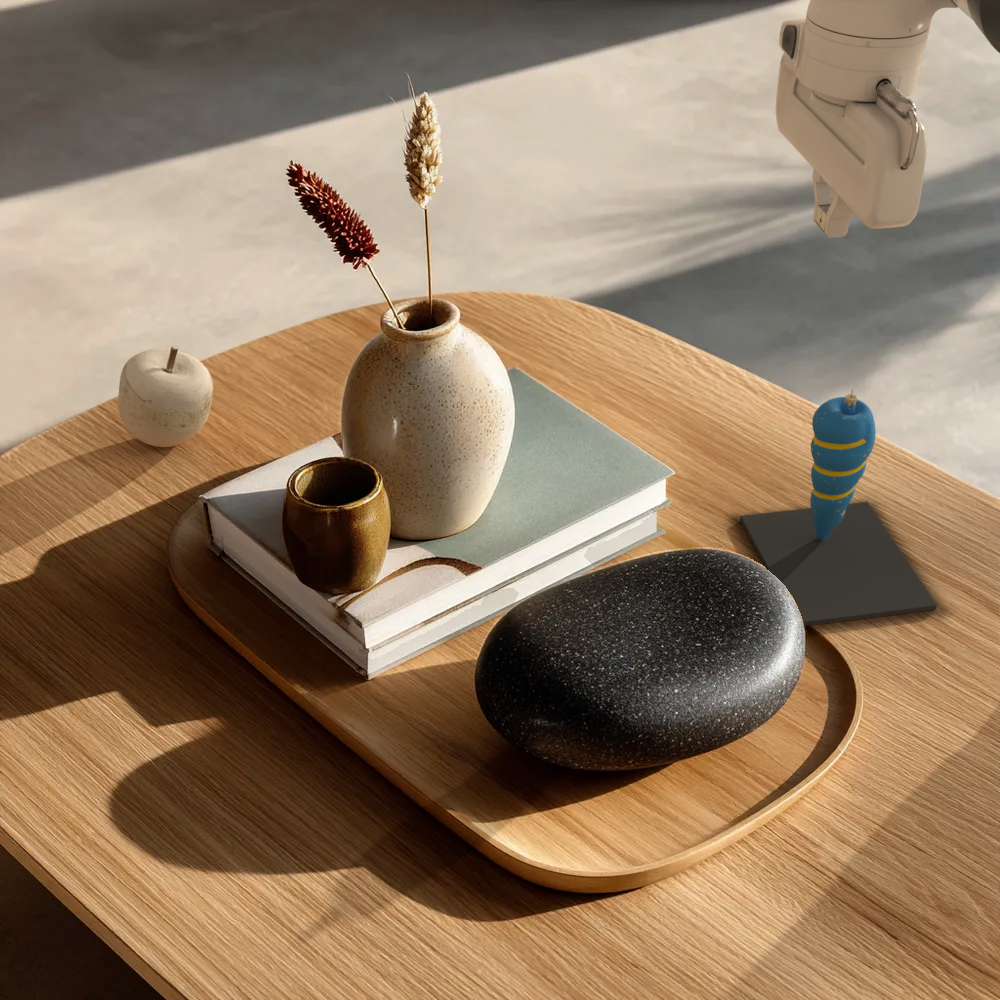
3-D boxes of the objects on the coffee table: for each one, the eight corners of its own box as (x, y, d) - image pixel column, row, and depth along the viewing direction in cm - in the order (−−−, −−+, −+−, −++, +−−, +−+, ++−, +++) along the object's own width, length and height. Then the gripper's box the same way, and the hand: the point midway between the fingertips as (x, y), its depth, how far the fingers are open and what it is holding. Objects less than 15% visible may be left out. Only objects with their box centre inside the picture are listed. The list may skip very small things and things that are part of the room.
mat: (866, 505, 120) (867, 501, 119) (936, 609, 109) (937, 605, 108) (739, 520, 118) (740, 515, 117) (797, 627, 107) (798, 622, 107)
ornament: (788, 551, 114) (817, 403, 104) (792, 514, 118) (820, 369, 108) (850, 561, 113) (884, 413, 104) (852, 524, 117) (885, 379, 108)
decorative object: (108, 435, 126) (90, 344, 120) (189, 402, 131) (175, 313, 125) (155, 478, 121) (138, 385, 115) (237, 442, 126) (226, 351, 120)
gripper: (964, 108, 91) (921, 288, 100) (847, 13, 107) (819, 175, 115) (878, 113, 90) (842, 295, 99) (772, 17, 106) (750, 180, 114)
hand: (829, 229), depth 107 cm, fingers closed
